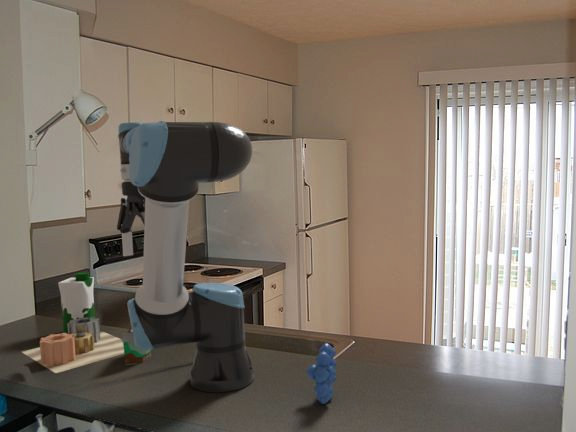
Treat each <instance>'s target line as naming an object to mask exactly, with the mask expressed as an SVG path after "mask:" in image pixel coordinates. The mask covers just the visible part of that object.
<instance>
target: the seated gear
mask: <svg viewBox="0 0 576 432" xmlns="http://www.w3.org/2000/svg"><path fill="white" fill-rule="evenodd" d="M67 324H68V334H76V333H83V332H87V333H93V335H94V342H96V343H97V342H98V341H99V339H100V332H101V331H100V330H101V328H100V327H101V326H100V319H99V318H98V317H97V318H96V317H95V318H94V317H89V318H83V317H82V318H79V319H76V320H71V321H70V323H67Z"/></svg>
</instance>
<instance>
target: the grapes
mask: <svg viewBox="0 0 576 432" xmlns="http://www.w3.org/2000/svg"><path fill="white" fill-rule="evenodd" d="M318 352H319V354H318V355H317V356H316V358H315V361H316V364H315V363H314V364H311V365H310V366H309V367H307V370H306V374H307V375H308V377H309V379H311V380H313V381H314V382H315V387H314V388H313V390H314V392H315V395H316V398H317V400H318V402H319V403H320V404H323V405H326V404H327V403H328V402H329V401H330V399H331V398H332V396H333V394H335V391H334V389H333V387H332V385H334V383H335V382H336V381H337V378H336V375H337V371H336V369H335V368H336V367H337V365H338V364H337V362H336V360H335V359H334V357H335V356H336V354H337V352H336V351H335V349H334V348H333V346H331V344H330V343H327V342H326V343H324V344H322V345H321V347H319V349H318Z"/></svg>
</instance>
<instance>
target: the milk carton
mask: <svg viewBox="0 0 576 432" xmlns="http://www.w3.org/2000/svg"><path fill="white" fill-rule="evenodd" d="M94 283H95V277H94V276H92V277H90V272H89V271H78V272H76V273H75V277H69V278H67V279H64V280H62V281H59V282H58V283H57V285H58V288H59V293H60V303H61V313H62V317H61V318H62V333H66V334H68V324H67V323H70V321H71V320H76V319H79V318H82V317H83V318H89V317H94V318H96V315H95V311H96V310H95V301H94V300H95V298H94V287H95V286H94V285H95V284H94Z"/></svg>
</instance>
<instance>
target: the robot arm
mask: <svg viewBox="0 0 576 432" xmlns="http://www.w3.org/2000/svg"><path fill="white" fill-rule="evenodd" d="M117 138H118V146H119V155H120V171H119V172H120V175H121V180H123V181H122V182H121V192H122V193H121V195H122V196H124V197H121V198H120V210H119V214H118V220H117V224H116V229H117V231H119V232H120V233H121V240H122V256H123V257H130V256H134V245H133V244H134V243H133V230H132V227H133V224H134V221H135V218H136V217H138V218H140V220H141V222H142V224H143V226H144V228H143V229H144V231H143V232H144V233H143V234H144V235H143V236H144V237H143V259H142V260H143V265H142V267H143V269H142V284H141V285H140V286H139V287H138V288H137V289H136V292H135V296H134V298H131V299H129V300H128V301H127V305H126V306H127V310H128V317H129V322H130V327H131V328H132V332H133V337H134V342H135V345H136V347H137V348H138V349H140V350H151V351H152V350H159V349H163V348H170V347H175V346H181V345H188V344H193V343H195V345H196V347H195V349H196V351H195V355H194V359H193V363H192V368H191V371H190V375H189V377H190V385H191V387H193V388H194V389H196V390H199V391H201V392H206V393H207V392H208V393H224V392H225V393H227V392H233V391H237V390H240V389H243V388H245V387H247V386H249V385H250V384H251V383H252V382H253V381H254V380H255V379H254V378H255V374H254V372H255V370H254V366H253V363H252V361H251V358H250V356H249V353H248V350H247V348H246V332H245V331H246V328H245V301H244V297H243V296H244V295H243V294H244V293H243V291H242V290H241V289H240V288H239V287H238V286H235V285H233V284H228V283H221V282H220V283H219V282H200V283H196V284H194V285H193V288H192V291H190V292H189V291H188V290H187V289H188V288H186V287H185V286H184V279H185V278H184V276H185V262H186V252H187V251H186V250H187V249H186V248H187V235H188V223H189V211H190V201H191V200H193V199H195V197H197V195H198V192H199V187H200V186H199V184H204V183H216V182H217V183H218V182H223V181H227V180H230V179H233V178H234V177H237V176H238V175H240V174H241V173H242V172H243V171H245V169H246V168H247V167H248V165H250V162H251V160H252V156H253V155H252V154H253V146H252V142H251V139H250V138H249V136H248V135H247V133H246V132H245V131H243V130H242V129H241V128H239V127H237V126H235V125H233V124H229V123H226V122H221V121H220V122H219V121H205V122H204V121H164V120H160V121H157V122H156V121H155V122H154V121H153V122H132V121H131V122H129V121H128V122H121V123H120V124H119V125H118V135H117ZM125 196H126V197H125Z"/></svg>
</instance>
